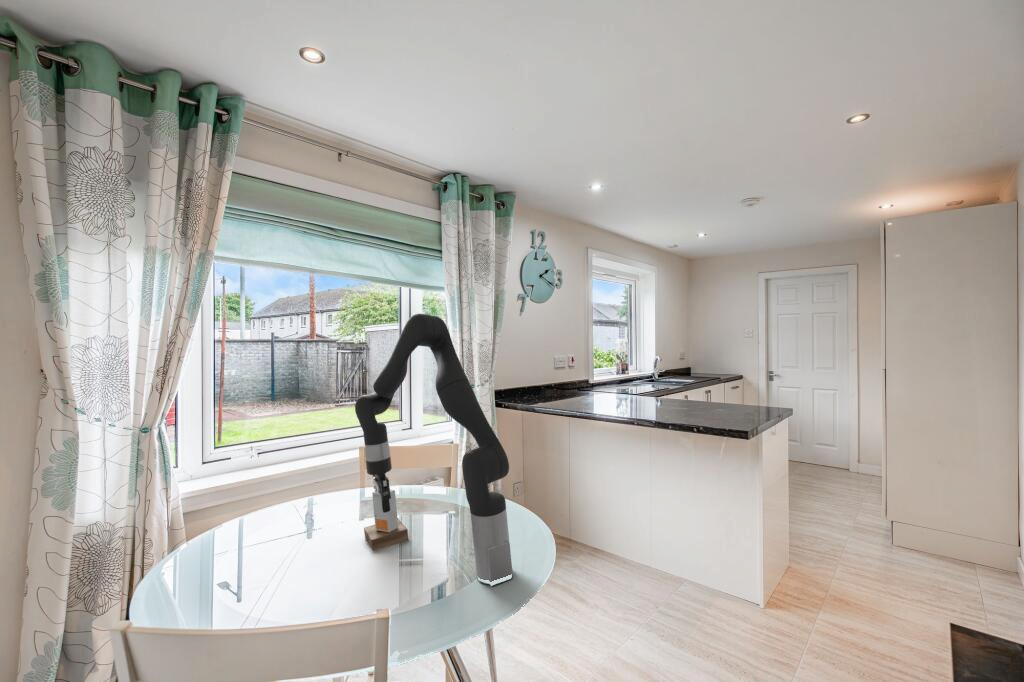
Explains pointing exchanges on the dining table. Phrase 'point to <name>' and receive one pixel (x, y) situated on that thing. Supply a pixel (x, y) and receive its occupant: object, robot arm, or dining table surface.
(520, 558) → the dining table surface
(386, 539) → the walnut block
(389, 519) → the skincare box
